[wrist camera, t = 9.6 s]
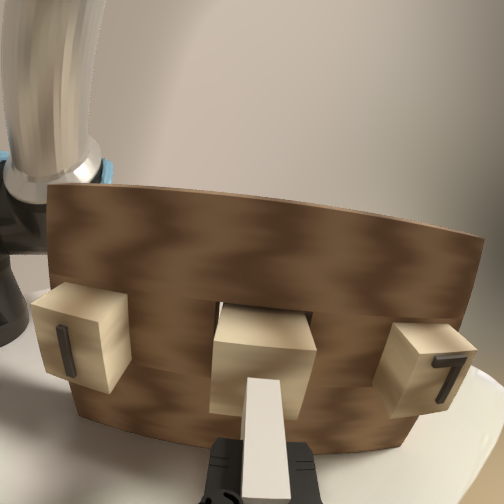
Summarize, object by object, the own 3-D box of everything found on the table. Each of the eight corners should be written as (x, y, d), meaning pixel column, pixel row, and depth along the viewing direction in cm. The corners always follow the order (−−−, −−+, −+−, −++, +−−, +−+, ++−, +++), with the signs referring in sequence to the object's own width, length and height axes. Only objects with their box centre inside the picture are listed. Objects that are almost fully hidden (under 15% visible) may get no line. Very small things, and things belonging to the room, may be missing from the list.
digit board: (58, 446, 16) (2, 189, 11) (108, 372, 28) (99, 180, 23) (415, 478, 16) (525, 253, 12) (378, 400, 28) (433, 222, 23)
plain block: (209, 412, 15) (213, 340, 14) (224, 336, 23) (229, 279, 22) (297, 420, 15) (316, 350, 14) (284, 343, 24) (295, 286, 22)
